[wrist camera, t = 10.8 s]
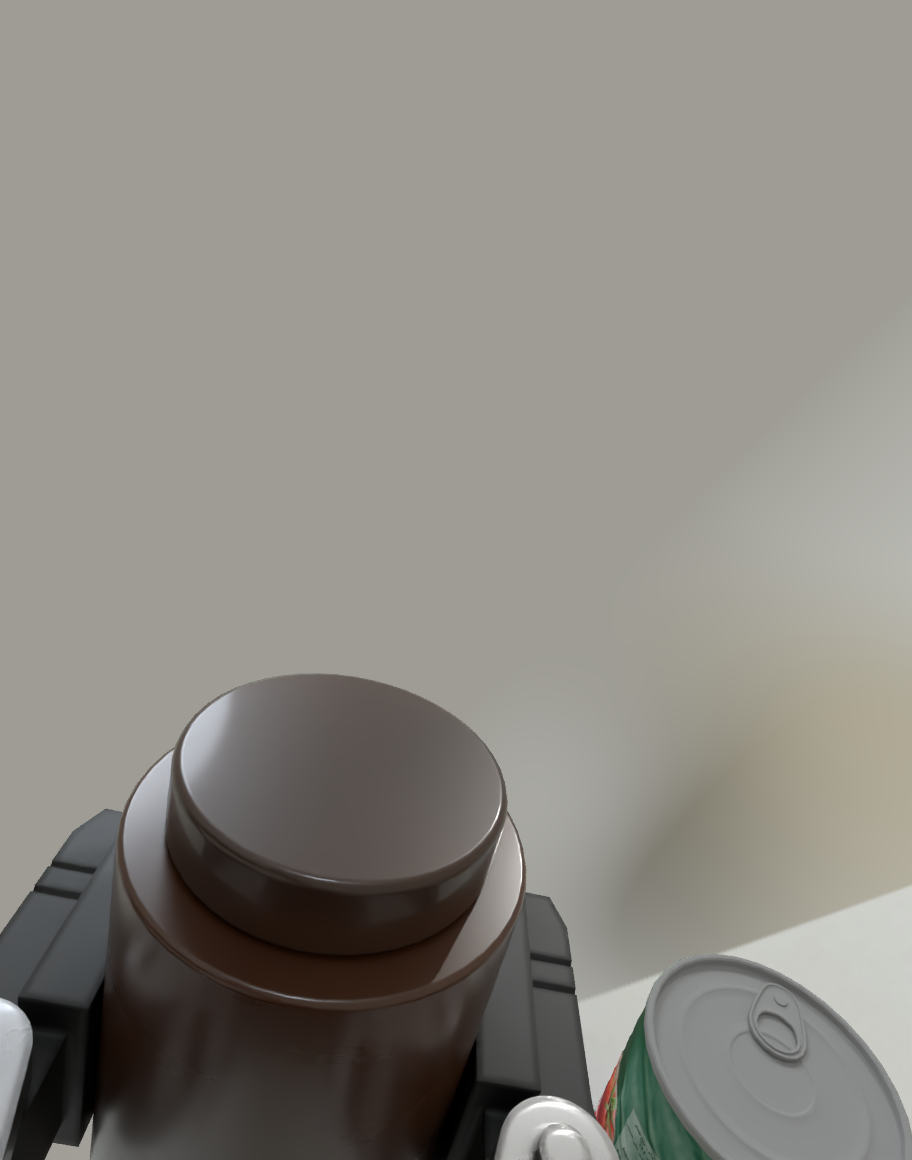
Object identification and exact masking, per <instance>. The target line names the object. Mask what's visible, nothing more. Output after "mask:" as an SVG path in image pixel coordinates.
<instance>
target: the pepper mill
mask: <svg viewBox="0 0 912 1160" xmlns="http://www.w3.org/2000/svg"><path fill="white" fill-rule="evenodd" d="M525 890H526V866H525V860H524V853H523V847H522V844H521V841H520V838H519V835H518V831H517V829H516V827H515V825H514V823H513V821H512V819H511V817H510V815H509V813H508V811H507V795H506V787H505V782H504V779H503V776H502V773H501V770H500V767H499V765H498V764H497V762H496V760H495V758H494V756H493V755H492V753H491V752H490V751H489V749H488V747H487V746H486V745H485V744H484V742H483V741H482V740H481V739H480V738H479V737H478V736H477V735H476V733H475V732H473V731H472V730H471V729H470V728H469V727H468V726H467V725H466V724H464V723H463V722H462V721H461V720H459V719H458V718H456V717H455V716H454V715H452V714H451V713H450V712H448V711H446V710H445V709H443V708H441V707H440V706H438V705H436V704H434V703H432V702H431V701H429V700H427V699H424V698H423V697H421V696H418V695H416V694H413V693H411V692H409V691H406V690H403V689H400V688H397V687H394V686H391V685H388V684H385V683H381V682H377V681H373V680H368V679H363V678H358V677H352V676H344V675H335V674H295V675H283V676H278V677H272V678H267V679H262V680H258V681H255V682H251V683H248V684H245V685H243V686H240V687H237V688H234V689H232V690H230V691H228V692H227V693H224V694H222V695H220V696H219V697H217V698H216V699H214V700H213V701H211V702H210V703H208V704H207V705H205V706H204V707H203V708H202V709H201V710H200V711H199V712H198V713H197V714H196V715H195V716H194V717H193V718H192V720H191V721H190V722H189V724H188V725H187V726H186V727H185V729H184V730H183V732H182V734H181V735H180V737H179V739H178V741H177V743H176V746H175V747H174V748H173V749H171V750H170V751H169V752H167V753H166V754H164V755H163V756H162V757H161V758H160V759H159V760H158V761H157V762H156V763H155V764H154V765H153V766H152V767H150V769H149V770H148V771H147V772H146V773H145V775H144V776H143V777H142V778H141V780H140V781H139V782H138V784H137V785H136V786H135V788H134V790H133V792H132V793H131V795H130V797H129V799H128V800H127V802H126V804H125V807H124V810H123V812H122V815H121V818H120V821H119V825H118V831H117V838H116V846H115V858H114V870H113V882H112V895H111V907H110V919H109V931H108V943H107V956H106V968H105V980H104V992H103V1004H102V1017H101V1029H100V1041H99V1053H98V1065H97V1078H96V1090H95V1102H94V1114H93V1126H92V1139H91V1151H90V1160H432V1159H433V1156H434V1153H435V1151H436V1148H437V1145H438V1142H439V1139H440V1137H441V1134H442V1131H443V1128H444V1125H445V1123H446V1120H447V1117H448V1114H449V1111H450V1108H451V1106H452V1103H453V1100H454V1097H455V1094H456V1092H457V1089H458V1086H459V1083H460V1080H461V1078H462V1075H463V1072H464V1069H465V1066H466V1064H467V1061H468V1058H469V1055H470V1052H471V1050H472V1047H473V1044H474V1041H475V1038H476V1036H477V1033H478V1030H479V1027H480V1024H481V1021H482V1019H483V1016H484V1013H485V1010H486V1007H487V1005H488V1002H489V999H490V996H491V993H492V991H493V988H494V985H495V982H496V979H497V977H498V974H499V971H500V968H501V965H502V963H503V960H504V957H505V954H506V951H507V949H508V946H509V943H510V940H511V937H512V934H513V932H514V929H515V926H516V923H517V920H518V918H519V915H520V912H521V909H522V905H523V900H524V895H525Z"/></svg>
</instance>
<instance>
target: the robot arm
mask: <svg viewBox="0 0 912 1160" xmlns="http://www.w3.org/2000/svg"><path fill="white" fill-rule="evenodd" d="M121 815H122V812H119V811H114V810H109V809H105V810H103V811H102V812H100V813H99V814H97V815H96V816H95V817H93V818H92V819H90V820H89V821H87V822H86V823H84V824H83V825H81V826H80V827H79V828H77V829H75V830H74V831H73V832H72V834H71V835H70V836H69V838H68V839H67V841H66V842H65V843H64V845H63V846H62V848H61V849H60V851H59V852H58V853H57V855H56V856H55V858H54V859H53V861H52V864H51V866H50V867H47V869H46V870H45V872H44V873H43V875H42V876H41V877H40V879H39V880H38V882H37V883H36V884H35V887H34V890H33V892H30V893H29V894H28V896H27V897H26V898H25V900H24V901H23V903H22V904H21V906H20V907H19V908H18V910H17V911H16V913H15V914H14V915H13V917H12V918H11V920H10V921H9V923H8V924H7V925H6V927H5V928H4V930H3V931H2V933H1V934H0V1160H45V1158H46V1155H47V1153H48V1151H49V1149H50V1147H51V1145H52V1143H58V1144H65V1145H70V1146H76V1147H78V1146H79V1144H80V1142H81V1140H82V1138H83V1135H84V1133H85V1131H86V1129H87V1126H88V1124H89V1122H90V1120H91V1118H92V1115H93V1113H94V1102H95V1090H96V1078H97V1065H98V1053H99V1041H100V1029H101V1017H102V1004H103V992H104V980H105V968H106V956H107V943H108V931H109V919H110V907H111V895H112V882H113V870H114V858H115V846H116V838H117V831H118V825H119V821H120V818H121ZM571 961H572V960H571V954H570V946H569V939H568V932H567V927H566V926H565V924H564V922H563V920H562V918H561V917H560V915H559V913H558V911H557V910H556V908H555V906H554V904H553V903H552V901H551V899H550V897H546V896H541V895H536V894H531V893H526V892H525V895H524V900H523V905H522V909H521V912H520V915H519V918H518V920H517V923H516V926H515V929H514V932H513V934H512V937H511V940H510V943H509V946H508V949H507V951H506V954H505V957H504V960H503V963H502V965H501V968H500V971H499V974H498V977H497V979H496V982H495V985H494V988H493V991H492V993H491V996H490V999H489V1002H488V1005H487V1007H486V1010H485V1013H484V1016H483V1019H482V1021H481V1024H480V1027H479V1030H478V1033H477V1036H476V1038H475V1041H474V1044H473V1047H472V1050H471V1052H470V1055H469V1058H468V1061H467V1064H466V1066H465V1069H464V1072H463V1075H462V1078H461V1080H460V1083H459V1086H458V1089H457V1092H456V1094H455V1097H454V1100H453V1103H452V1106H451V1108H450V1111H449V1114H448V1117H447V1120H446V1123H445V1125H444V1128H443V1131H442V1134H441V1137H440V1139H439V1142H438V1145H437V1148H436V1151H435V1153H434V1156H433V1159H432V1160H621V1159H620V1158H619V1157H618V1154H617V1152H616V1149H615V1147H614V1145H613V1143H612V1141H611V1140H610V1138H609V1136H608V1135H607V1133H606V1131H605V1130H604V1129H603V1128H602V1127H601V1125H600V1124H599V1123H598V1122H597V1119H596V1116H595V1113H594V1109H593V1105H592V1100H591V1093H590V1086H589V1079H588V1072H587V1065H586V1058H585V1051H584V1044H583V1037H582V1030H581V1023H580V1016H579V1009H578V1002H577V996H576V995H575V981H574V974H573V968H572V967H571Z"/></svg>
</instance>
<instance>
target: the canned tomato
mask: <svg viewBox="0 0 912 1160" xmlns="http://www.w3.org/2000/svg"><path fill="white" fill-rule="evenodd" d="M594 1113H595V1116H596V1119H597V1122H598V1123H599V1124H600V1125H601V1127H602V1128H603V1129H604V1130H605V1131H606V1133H607V1135H608V1136H609V1138H610V1140H611V1141H612V1143H613V1145H614V1147H615V1149H616V1152H617V1154H618V1157H619V1158H620V1159H621V1160H912V1133H911V1129H910V1124H909V1120H908V1117H907V1114H906V1112H905V1109H904V1107H903V1104H902V1102H901V1100H900V1097H899V1095H898V1092H897V1090H896V1088H895V1087H894V1085H893V1083H892V1081H891V1080H890V1078H889V1076H888V1074H887V1073H886V1071H885V1069H884V1067H883V1066H882V1064H881V1063H880V1062H879V1060H878V1059H877V1058H876V1056H875V1055H874V1054H873V1052H872V1051H871V1050H870V1048H869V1047H868V1045H867V1044H866V1043H865V1042H864V1041H863V1039H862V1038H861V1037H860V1036H859V1035H858V1034H857V1033H856V1032H855V1031H854V1030H853V1028H852V1027H851V1026H850V1025H849V1024H848V1023H847V1022H846V1021H845V1020H844V1019H843V1018H842V1017H841V1016H840V1015H838V1014H837V1013H836V1012H835V1011H834V1010H833V1009H832V1008H831V1007H830V1006H828V1005H827V1004H826V1003H825V1002H824V1001H822V1000H821V999H820V998H818V997H817V996H816V995H814V994H813V993H812V992H810V991H809V990H807V989H806V988H805V987H803V986H802V985H800V984H798V983H797V982H795V981H793V980H792V979H790V978H788V977H786V976H785V975H783V974H781V973H779V972H777V971H775V970H772V969H770V968H768V967H766V966H763V965H761V964H759V963H756V962H752V961H749V960H746V959H742V958H739V957H734V956H726V955H718V954H708V955H695V956H692V957H689V958H685V959H682V960H679V961H678V962H676V963H675V964H673V965H671V966H670V967H668V968H667V969H665V971H664V972H663V973H662V974H661V975H660V977H659V978H658V979H657V980H656V982H655V983H654V984H653V987H652V989H651V992H650V994H649V997H648V999H647V1002H646V1006H645V1008H644V1010H643V1012H642V1014H641V1015H640V1017H639V1019H638V1020H637V1023H636V1025H635V1028H634V1030H633V1033H632V1034H631V1036H630V1037H629V1040H628V1042H627V1045H626V1047H625V1049H624V1051H623V1052H622V1054H621V1057H620V1059H619V1062H618V1064H617V1066H616V1067H615V1069H614V1071H613V1074H612V1076H611V1079H610V1080H609V1082H608V1084H607V1086H606V1088H605V1091H604V1093H603V1095H602V1096H601V1098H600V1101H599V1103H598V1106H597V1108H596V1109H595V1111H594Z"/></svg>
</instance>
